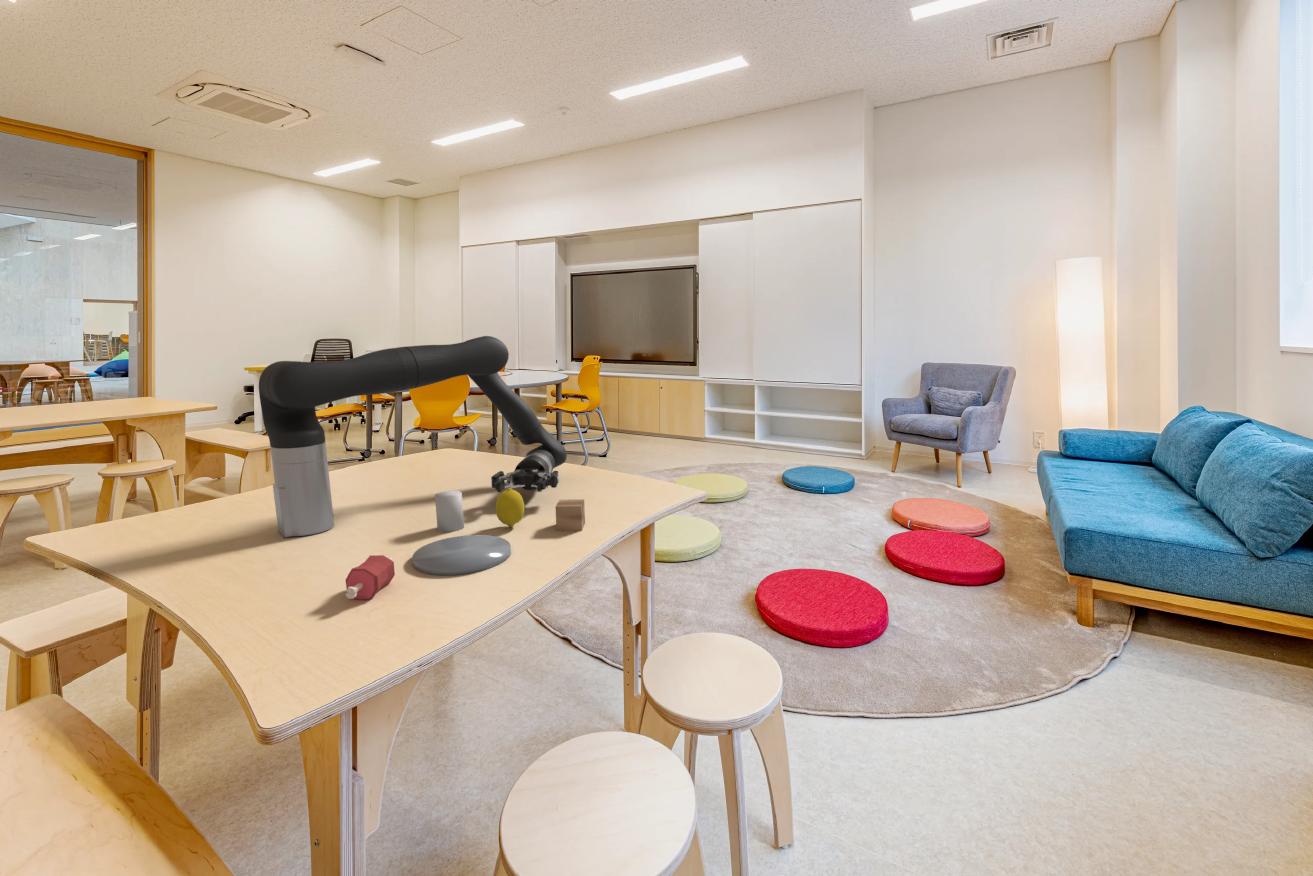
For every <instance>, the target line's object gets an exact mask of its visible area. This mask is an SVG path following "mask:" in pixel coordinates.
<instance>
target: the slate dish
mask: <svg viewBox="0 0 1313 876" xmlns="http://www.w3.org/2000/svg"><path fill="white" fill-rule="evenodd" d="M511 548H512V547H511V543H510V541H508V540H507V539H505V538H503V537H499V536H495V535H494V536H493V535H487V534H468V535H459V536H458V535H457V536H451V537H448V538H447V537H446V538H442V539H439V540H435V541H433V542H429V543H427V544H425V545H423V546H421V547H419V548H417V550H416V551H414V553H413V554H412V565H413V567H414V569H415V570H417V571H418V572H420V573H424V574H427V575H434V576H457V575H458V576H459V575H467V574H472V573H474V574H475V573H477V572H478V573H479V572H482V571H486V570H488V569H492V568H493V567H496V566H499V565H501V564H503V563H504V562H505V561H507V560H508V559H509V558H510V556H511V554H512V550H511Z"/></svg>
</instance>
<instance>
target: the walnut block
mask: <svg viewBox="0 0 1313 876" xmlns="http://www.w3.org/2000/svg"><path fill="white" fill-rule="evenodd" d="M585 509H586V508H585V499H583V498H582V499H581V498H579V499H576V498H575V499H572V498H571V499H559V500H558V501H557V503H556V505H555V526H556V527H555V529H556V532H571V531H573V532H574V531H577V532H581V531H583V530H584V527H585V524H586V510H585Z"/></svg>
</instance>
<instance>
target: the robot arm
mask: <svg viewBox="0 0 1313 876" xmlns="http://www.w3.org/2000/svg"><path fill="white" fill-rule="evenodd" d="M509 355H510V353H509V350H508V347H507V346H506V344H505V343H504V342H503V341H502V340H500V339H499V338H497V337H494V336H490V335H483V336H478V337H474V338H471V339H467V340H465V341H462V342H457V343H450V344H424V345H411V346H409V345H408V346H398V347H392V348H391V347H390V348H385V349H380V350H376V351H371V352H368V353H365V354H363V355H358V356H356V357H353V358H350V359H349V358H348V359H343V360H330V361H299V360H298V361H297V360H280V361H275V362H274V363H270V364H269V365H267V366H266V367H265V368H264V369H263V370H262V372H261V374H260V376H259V379H258V393H259V394H258V395H259V401H260V403H259V404H260V408H261V409H260V410H261V415H262V420H263V421H262V422H263V426H264V431H265V432H266V434H267V437H268V440H269V446H270V447H269V448H270V456H271V463H272V470H273V471H272V472H273V480H274V483H273V484H272V490H273V498H274V507H275V515H276V521H277V531H278V532H279V533H280V534H281V535H282V536H283V538H289V537H301V536H310V535H314V534H315V535H316V534H319V533H323V532H326V531H328V530H331V529H332V528H333V527H335V519H334V508H333V500H332V499H333V498H332V491H331V481H330V472H329V462H328V454H327V445H326V434H325V430H324V428H323V426H322V425H321V424H320V422H319V419H318V417H317V414H316V413H317V412H316V407H320V406H323V405H326V404H328V403H329V404H330V403H333V402H337V401H339V400H343V399H348V398H352V397H357V396H358V397H359V396H368V395H369V396H371V395H372V396H373V395H380V394H389V393H396V392H402V391H408V390H413V389H417V388H423V387H425V386H430V385H434V384H436V383H440V382H444V381H446V380H450V379H453V378H457V377H461V376H468V377H469V378H470V380H471V381H472V382H474V384H475V385H477V387H478V388H479V389H480V390H481V391H482V392H483V394H484V395H485V396H486V397H487V399H489V401H490V402H491V403H492V404H493V406H494V407H495V408H496V409H497V411H499V413H500V414H501V415H502V417H503V418H504V419H505V421H506V422H507V424H508V425H509V427H510V429H511V430H512V432H513V433H514V435H515V436H516V438H517V439H518V441H519V443H521V445H523V446H524V445H525V446H528V445H533V444H540V445H538V446H537V447H534V448H533V449H530V450H529V451H527V452H526V454H525V457H524V458H522V460H521V461H519V463H518V464H517V465H516V466H515V468H514V470H513V471H510V472H506V474H505V473H504V472H505V471H503V470H499V471H498V472H496V473H494V474H493V475H492V476H491V478H490V479H491V488H492V489H495V491H496V492H497V493H502V492H503V491H505V490H506V489H508V488H511V489H512V490H513V489H517V488H522V489H524V490H526V491H536V490H537V493H542V491H544V490H545V489H547V488H548V487H549V486H550V488H553V489H554V488H557V487H558V484H559V483H560V482H559V480H560V479H559V471H558V470H555V468H557V467H559V466H561V465H563V464H565V462H566V461H567V456H568V455H567V454H568V453H567V450H566V448H565V446H564V445H563V444H562V443H561V442H560V441H559V440H558V439H557V438H555V437H554V436H553V434H551V433H549V431H548V430H547V429H546V428H545V427H544V426H543V425H542V423H541V422H540V419H538V417H537V415H536V414H535V412H534V410H533V409H532V408H531V407H530V405H529V404H528V403H527V402H526V401H525V400H524V399H523V398H522V397H521V396H520V395H519V394H517V392H515V391H513V389H512V388H510V387H509V386H508V384H507V383H506V382H505V381H504V380H503V379H502V377H501V376H500V374H499V372H501V371H502V370H503V369H504V368H505V367H506V365H507V364H508V361H509ZM505 482H506V483H505Z"/></svg>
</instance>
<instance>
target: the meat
mask: <svg viewBox="0 0 1313 876" xmlns="http://www.w3.org/2000/svg"><path fill="white" fill-rule="evenodd" d="M395 575H396V573H395V563H394V560H393V558H391V557H387V556H385V555H384V554H383V555H380V554H379V555H378V554H377V555H369V556H368V557H367V558H366V560H365V561H364V562H362V563H361V564H360V565H358V566H356V567H352V568H351V570H350V572H349V573H348V575H347V577H346V578H345V586H346V587H345V588H346V593H345V597H346V598H347V599H348V600H351V599H356V600H359V601H360V600H373V599H374V597H375V595H376V594H377V593H378V592H379V591H381V589H383V588H384V587H387V586H389V585H390V583H391V582H392V580H393V579H394V577H395Z"/></svg>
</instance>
